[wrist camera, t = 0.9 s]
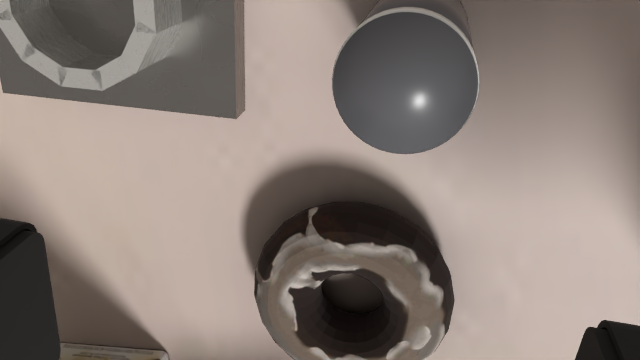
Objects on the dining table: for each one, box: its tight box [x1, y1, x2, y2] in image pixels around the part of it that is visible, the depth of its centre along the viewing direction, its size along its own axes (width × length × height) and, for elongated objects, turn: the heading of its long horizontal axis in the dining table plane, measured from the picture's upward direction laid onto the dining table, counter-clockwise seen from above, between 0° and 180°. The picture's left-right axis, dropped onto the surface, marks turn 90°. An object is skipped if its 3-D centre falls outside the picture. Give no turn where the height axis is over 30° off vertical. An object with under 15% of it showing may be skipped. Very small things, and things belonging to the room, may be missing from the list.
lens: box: [332, 0, 479, 154], centre depth 25 cm, size 5×5×10 cm
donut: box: [254, 202, 454, 360], centre depth 34 cm, size 12×12×4 cm
